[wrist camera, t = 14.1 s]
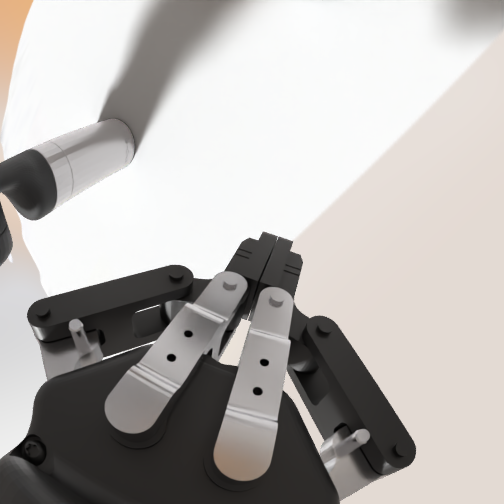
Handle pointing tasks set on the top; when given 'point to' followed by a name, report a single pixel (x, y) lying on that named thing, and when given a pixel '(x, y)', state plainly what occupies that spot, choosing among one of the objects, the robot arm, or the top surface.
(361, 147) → the top surface
